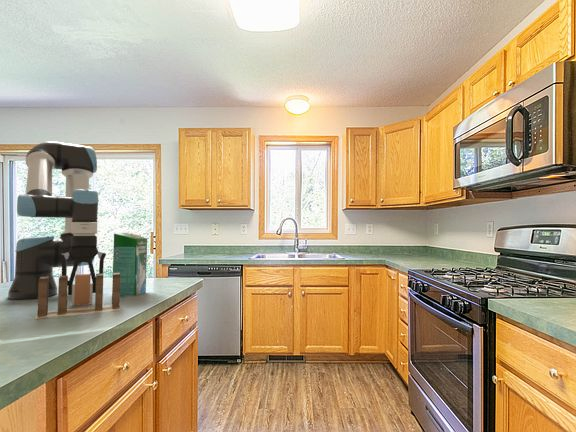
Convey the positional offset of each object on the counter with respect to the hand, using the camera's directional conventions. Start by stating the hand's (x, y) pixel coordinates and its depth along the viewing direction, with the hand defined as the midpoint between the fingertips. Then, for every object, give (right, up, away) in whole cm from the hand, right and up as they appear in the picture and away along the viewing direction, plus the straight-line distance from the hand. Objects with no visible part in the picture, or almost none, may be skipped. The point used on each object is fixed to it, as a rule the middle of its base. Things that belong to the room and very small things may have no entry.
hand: (82, 303), depth 109 cm
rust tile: (0, -1, 0) cm, 1 cm away
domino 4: (+13, 0, -4) cm, 14 cm away
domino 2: (+1, 0, -11) cm, 11 cm away
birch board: (+5, -1, -9) cm, 10 cm away
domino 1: (-3, 0, -14) cm, 14 cm away
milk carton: (+7, -2, +19) cm, 20 cm away
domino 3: (+9, 0, -6) cm, 11 cm away
